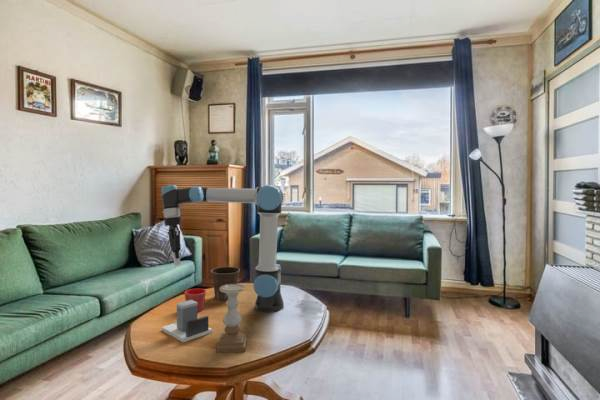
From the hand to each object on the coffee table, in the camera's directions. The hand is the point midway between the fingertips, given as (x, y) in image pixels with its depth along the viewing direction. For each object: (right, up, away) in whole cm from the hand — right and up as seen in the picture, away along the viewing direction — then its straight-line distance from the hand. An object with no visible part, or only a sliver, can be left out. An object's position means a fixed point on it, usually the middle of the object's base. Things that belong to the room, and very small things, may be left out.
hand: (177, 265), depth 174 cm
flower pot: (+6, -25, +10) cm, 28 cm away
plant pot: (+17, -25, +31) cm, 43 cm away
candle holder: (+33, -27, -31) cm, 53 cm away
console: (+10, -26, -17) cm, 33 cm away
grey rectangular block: (+10, -24, -17) cm, 31 cm away
